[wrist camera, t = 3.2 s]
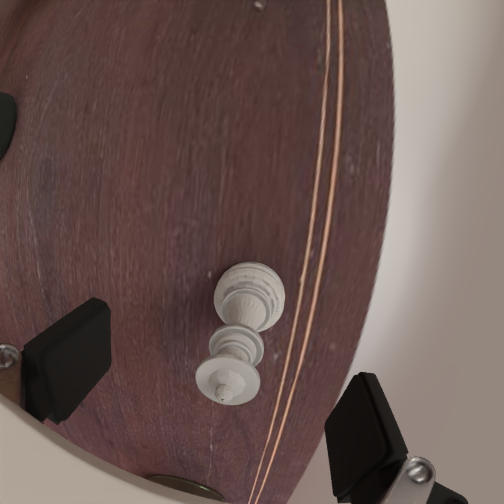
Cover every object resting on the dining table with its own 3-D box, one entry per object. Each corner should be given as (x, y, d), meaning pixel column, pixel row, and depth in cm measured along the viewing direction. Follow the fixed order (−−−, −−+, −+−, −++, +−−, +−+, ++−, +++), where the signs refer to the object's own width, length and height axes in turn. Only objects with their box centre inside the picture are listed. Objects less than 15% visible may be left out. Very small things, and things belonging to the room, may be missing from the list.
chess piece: (284, 259, 17) (291, 346, 7) (284, 322, 18) (287, 439, 8) (215, 261, 17) (147, 340, 8) (220, 322, 18) (174, 430, 9)
